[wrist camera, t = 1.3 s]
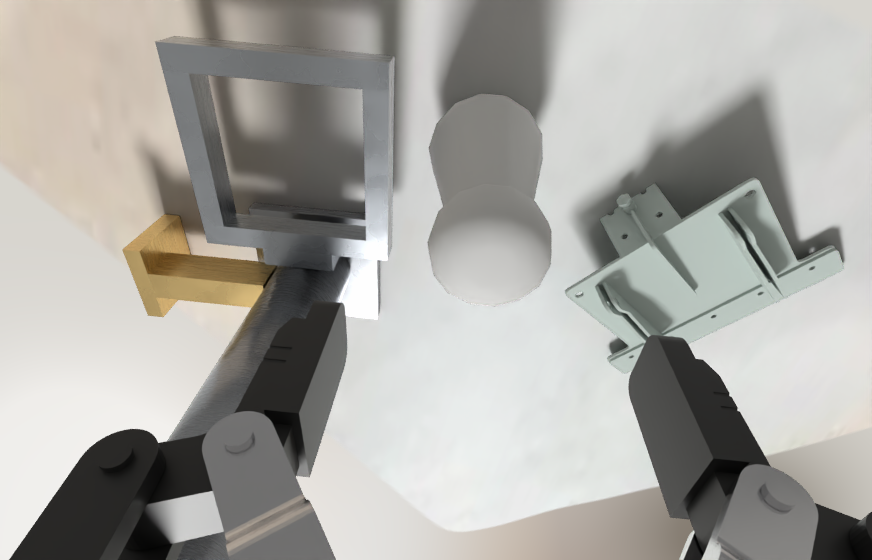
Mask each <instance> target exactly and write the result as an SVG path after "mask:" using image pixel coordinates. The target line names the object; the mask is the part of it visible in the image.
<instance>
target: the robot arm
mask: <svg viewBox="0 0 872 560" xmlns="http://www.w3.org/2000/svg"><path fill="white" fill-rule="evenodd" d="M346 355H347V334H346V317H345V306H344V303H340V302H330V301H320V300H315V301H314V302H313V304H312V306H311V308H310V310H309V312H308V315H307V317H306V319H303V318H294V317H293V318H291V319H290V320H289V321H288V322H287V323H285V324H284V325H283V326H282V327H281V328H280V329H278V331H277V332H276V334H275V336H274V338H273V340H272V342H271V344H270V348H268V350H267V352H266V354H265V356H264V357H263V361H261V363H260V365H259V367H258V369H257V371H256V373H255V375H254V377H253V379H252V381H251V383H250V384H249V386H248V388H247V390H246V392H245V394H244V396H243V398H242V400H241V402H240V404H239V406H238V408H237V409H236V411H235V412H234V414H231V415H229V416H226V417H224V418H223V419H221V420H220V421H218V422H217V423H216V424H214V425H213V426H212V428H211V429H210V430H209V431H208V433H205V434H202V435H199V436H195V437H189V438H184V439H178V440H173V441H167V442H162V443H158V442H157V440H156V438H155V437H154V436H153V435H152V434H151V433H149V432H148V431H145V430H140V429H129V430H123V431H119V432H116V433H113V434H111V435H109V436H107V437H105V438H103V439H101V440H100V441H98V442H96V443H95V444H94V445H93V446H91V447H90V448H89V449H88V450H87V451H86V452H85V453H84V455H83V456H82V457H81V458H80V460H79V461H78V463H77V464H76V466H75V467H74V468H73V470H72V471H71V473H70V474H69V475H68V477H67V478H66V480H65V481H64V483H63V484H62V486H61V487H60V488H59V490H58V491H57V493H56V494H55V495H54V497H53V498H52V500H51V501H50V502H49V504H48V506H47V507H46V508H45V510H44V511H43V512H42V514H41V515H40V517H39V518H38V520H37V521H36V522H35V524H34V525H33V527H32V528H31V530H30V531H29V532H28V534H27V535H26V537H25V538H24V540H23V541H22V542H21V544H20V545H19V547H18V548H17V550H16V551H15V552H14V554H13V555H12V557H11V558H10V559H9V560H177V559H178V556H179V554H180V552H181V549H182V547H183V545H184V542H185V541H186V540H190V539H195V538H199V537H203V536H208V535H212V534H216V533H221V532H224V533H225V537H226V548H227V553H228V557H229V560H336V559H335V556H334V554H333V552H332V549H331V547H330V545H329V543H328V540H327V538H326V536H325V533H324V531H323V529H322V527H321V524H320V522H319V520H318V518H317V515H316V513H315V511H314V509H313V507H312V505H311V503H310V501H309V500H306V499H305V497H304V495H303V493H302V491H301V488H300V486H299V484H298V482H297V479H296V476H303V477H310V474H311V471H312V467H313V465H314V462H315V458H316V455H317V452H318V449H319V446H320V443H321V439H322V436H323V433H324V430H325V427H326V424H327V420H328V417H329V414H330V411H331V408H332V405H333V401H334V398H335V395H336V392H337V389H338V386H339V382H340V379H341V376H342V373H343V370H344V366H345V362H346ZM629 396H630V400H631V403H632V405H633V408H634V411H635V414H636V417H637V420H638V423H639V426H640V429H641V432H642V435H643V438H644V441H645V444H646V447H647V450H648V453H649V456H650V459H651V462H652V465H653V468H654V471H655V474H656V477H657V480H658V483H659V485H660V488H661V491H662V494H663V497H664V500H665V503H666V506H667V509H668V512H669V515H670V517H672V518H681V519H690V521H691V524H692V527H693V529H694V530H693V531H692V533H691V534H690V535H689V537H688V539H687V542H686V544H685V547H684V549H683V551H682V554H681V556H680V559H679V560H872V512H871V513H869V514H868V515H867V516H866V517H864V518H863V519H862V520H858V519H856V518H853V517H850V516H848V515H845V514H842V513H839V512H837V511H834V510H832V509H829V508H826V507H824V506H821V505H818V504H816V503H814V501H813V499H812V498H811V496H810V495H809V494H808V492H807V491H806V490H805V489H804V488H803V487H802V486H801V485H800V484H799V483H798V482H797V481H796V480H794V479H793V478H792V477H790V476H789V475H787V474H785V473H784V472H782V471H779V470H778V469H775V468H772V467H771V466H770V465H769V463H768V461H767V459H766V457H765V456H764V454H763V452H762V450H761V449H760V447H759V445H758V443H757V441H756V440H755V438H754V436H753V434H752V433H751V431H750V429H749V427H748V425H747V424H746V422H745V420H744V418H743V417H742V415H741V413H740V412H739V411H737V406H736V404H735V402H734V401H733V399H732V397H729V392H728V390H727V388H726V386H725V385H724V383H723V381H722V379H721V377H720V376H719V375H718V374H717V373H716V372H715V371H714V370H713V369H712V368H711V367H710V366H709V365H708V364H707V363H706V362H705V361H704V360H700V359H695V357H694V355H693V353H692V351H691V349H690V347H689V346H688V344H687V342H686V341H685V339H683V338H680V337H670V336H660V335H651V336H649V337H648V339H647V340H646V342H645V344H644V347H643V349H642V351H641V353H640V355H639V357H638V360H637V362H636V364H635V366H634V368H633V370H632V373H631V375H630V379H629Z"/></svg>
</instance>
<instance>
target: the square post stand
mask: <svg viewBox="0 0 872 560" xmlns="http://www.w3.org/2000/svg"><path fill="white" fill-rule="evenodd" d="M155 43H156V47H157V50H158V54H159V58H160V62H161V66H162V70H163V73H164V77H165V81H166V85H167V89H168V93H169V97H170V100H171V104H172V108H173V112H174V116H175V120H176V123H177V127H178V131H179V135H180V139H181V143H182V147H183V150H184V154H185V158H186V162H187V166H188V170H189V173H190V177H191V181H192V185H193V189H194V193H195V197H196V200H197V204H198V208H199V212H200V216H201V220H202V223H203V227H204V231H205V235H206V239H207V243H214V244H223V245H233V246H243V247H253V248H256V250H257V255H258V260H259V262H258V261H248V260H238V259H228V258H218V257H208V256H199V255H191V254H190V251H189V247H188V244H187V240H186V237H185V233H184V230H183V226H182V223H181V220H180V216H177V215H167V214H164V215H163V216H162V217H161V218H159V219H158V220H157V221H156V222H155V223H153V224H152V225H151V226H150V227H149V228H148V229H146V230H145V231H144V232H143V233H142V234H140V235H139V236H138V237H137V238H136V239H134V240H133V241H132V242H131V243H130V244H129V245H127V246H126V247H125V248H124V249H123V253H124V255H125V258H126V260H127V263H128V265H129V268H130V270H131V273H132V275H133V278H134V281H135V283H136V286H137V288H138V291H139V294H140V296H141V298H142V301H143V304H144V306H145V309H146V311H147V314H148V315H149V316H158V317H164V316H165V315H166V313H167V312H168V311H169V310H170V309H171V308H172V306H173V305H174V304H175V303H176V302H177V301H178V300H185V301H194V302H204V303H214V304H223V305H233V306H243V307H252V308H251V310H250V312H249V313H248V315H247V316H246V318H245V319H244V321H243V323H242V324H241V326H240V327H239V329H238V330H237V332H236V334H235V335H234V337H233V338H232V340H231V342H230V343H229V345H228V346H227V348H226V349H225V351H224V353H223V354H222V356H221V357H220V359H219V361H218V362H217V364H216V365H215V367H214V368H213V370H212V372H211V373H210V375H209V376H208V378H207V379H206V381H205V383H204V384H203V386H202V387H201V389H200V391H199V392H198V394H197V395H196V397H195V398H194V400H193V402H192V403H191V405H190V406H189V408H188V409H187V411H186V413H185V414H184V416H183V417H182V419H181V420H180V422H179V424H178V425H177V427H176V428H175V430H174V432H173V433H172V435H171V436H170V438H169V439H168V441H173V440H178V439H184V438H189V437H195V436H199V435H202V434H205V433H208V431H209V430H210V429H211V428H212V426H213V425H214V424H216V423H217V422H218V421H220V420H221V419H223V418H224V417H226V416H229V415H231V414H234V412H235V411H236V409H237V408H238V406H239V404H240V402H241V400H242V398H243V396H244V394H245V392H246V390H247V388H248V386H249V384H250V383H251V381H252V379H253V377H254V375H255V373H256V371H257V369H258V367H259V365H260V363H261V361H263V357H264V356H265V354H266V352H267V350H268V348H270V344H271V342H272V340H273V338H274V336H275V334H276V332H277V331H278V329H280V328H281V327H282V326H283V325H284V324H285V323H287V322H288V321H289V320H290V319H291V318H293V317H294V318H303V319H306V317H307V315H308V312H309V310H310V308H311V306H312V304H313V302H314V301H315V300H320V301H330V302H340V303H344V306H345V316H350V317H360V318H369V319H378V316H379V260H382V261H388V258H389V254H390V251H391V248H392V203H393V133H394V64H395V56H390V55H379V54H368V53H356V52H345V51H334V50H323V49H312V48H301V47H290V46H279V45H268V44H257V43H246V42H235V41H224V40H213V39H202V38H191V37H180V36H173V37H170V38H166V39H163V40H159V41H156V42H155ZM208 75H213V76H224V77H235V78H246V79H257V80H268V81H278V82H289V83H300V84H311V85H322V86H333V87H343V88H354V89H363V129H364V171H365V213H366V214H364V213H353V212H343V211H333V210H323V209H313V208H303V207H292V206H282V205H272V204H262V203H253V204H252V205H251V206H250V208H249V213H250V215H248V214H238V213H236V210H235V205H234V200H233V196H232V191H231V186H230V181H229V176H228V171H227V167H226V162H225V157H224V152H223V147H222V143H221V138H220V133H219V128H218V123H217V119H216V114H215V109H214V104H213V99H212V95H211V90H210V85H209V80H208ZM177 560H229V557H228V553H227V548H226V537H225V533H224V532H221V533H216V534H212V535H208V536H203V537H199V538H195V539H190V540H186V541H185V542H184V545H183V547H182V549H181V552H180V554H179V556H178V559H177Z"/></svg>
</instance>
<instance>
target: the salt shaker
mask: <svg viewBox="0 0 872 560" xmlns="http://www.w3.org/2000/svg"><path fill="white" fill-rule="evenodd" d="M429 152H430V157H431V163H432V168H433V173H434V176H435V179H436V183H437V186H438V189H439V193H440V196H441V200H442V204H443V208H442V209H441V210H440V211H439V212H438V214H437V217H436V220H435V223H434V225H433V228H432V231H431V234H430V237H429V240H428V248H429V255H430V260H431V264H432V269H433V274H434V276H435V277H436V279H437V280H438V281H439V282H440V284H441V285H442V286H443V287H444V289H445V290H446V291H447V293H449V294H451V295H453V296H455V297H457V298H459V299H461V300H463V301H465V302H467V303H469V304H476V305H485V306H494V307H495V306H499V305H503V304H507V303H510V302H514V301H518V300H520V299H522V298H523V297H524V296H526V295H527V294H529V293H530V292H532V291H533V290H534V289H536V288H537V287H539V286H540V284H541V282H542V280H543V278H544V276H545V275H546V273H547V271H548V269H549V267H550V264H551V229H550V226H549V223H548V221H547V220H546V218H545V216H544V215H543V213H542V212H541V210H540V208H539V207H538V205H537V204H536V202H535V201H534V198H535V193H536V188H537V183H538V178H539V174H540V169H541V164H542V159H543V157H542V133H541V131H540V129H539V128H538V126H537V124H536V122H535V120H534V119H533V117H532V115H531V113H530V112H529V111H528V110H527V109H526V108H524V107H523V106H521V105H520V104H518V103H517V102H515V101H514V100H512V99H511V98H509V97H508V96H504V95H493V94H478V95H475V96H472V97H470V98H467V99H464V100H462V101H459V102H456V103H455V104H454V105H453V106H452V107H451V109H450V110H449V111H448V112H447V113H446V114H445V115H444V116H443V117H442V119H441V120H440V121H439V122H438V123H437V124H436V127H435V130H434V134H433V137H432V140H431V143H430V146H429Z"/></svg>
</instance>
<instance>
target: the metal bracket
mask: <svg viewBox="0 0 872 560" xmlns="http://www.w3.org/2000/svg"><path fill="white" fill-rule="evenodd" d="M646 190H647V191H646V193H645V194H641V193H638V194H637V195H635V196H634V197H632V198H631V197H630V196H629V195H628V193H627V194H623V195H620V196H619V198H618V199H617V201H616V202H617V203H618V205H619V207H617V208H616V209H614V210H613V211H614V213H613V214H612V215H609V214H607V215H605V216H604V217H602V218H601V219H600V221H601V223H602V225H603V226H604V228H605V230H606V232H607V234H608V236H609V237H610V239H611V241H612V243H613V245H614V247H615V248H616V250H617V252H618V254H619V256H620V257H619V258H617V259H615V260H614V261H612V262H610V263H609V264H607V265H605V266H604V267H602V268H600V269H599V270H597V271H595V272H594V273H592V274H590V275H589V276H587V277H585V278H584V279H582V280H581V281H579V282H577V283H576V284H574V285H572V286H571V287H569V288H567V289H566V291H565V293H566V296H567V297H569V298H570V299H571V300H572V301H574V302H575V303H576V304H577V305H579V306H580V307H581V308H582V309H584V310H585V311H586V312H587V313H589V314H590V315H591V316H592V317H594V318H595V319H596V320H597V321H599V322H600V323H601V324H602V325H604V326H605V327H606V328H607V329H609V330H610V331H611V332H612V333H614V334H615V335H616V336H617V337H619V338H620V339H621V340H622V341H624V342H625V343H626V344H627V345H628V346H627V347H626V348H624V349H622V350H620V351H618V352H616V353H614V354H612V355H610V356H609V357H608V358H607V359H608V361H609V363H610V364H611V365H612V366H614V367H615V368H616V369H618V370H619V371H621V372H622V373H628V372H630V371H632V370H633V368H634V366H635V364H636V362H637V360H638V357H639V355H640V353H641V351H642V349H643V347H644V344H645V342H646V340H647V339H648V337H649V336H651V335H660V336H670V337H680V338H683V339H685V341H686V342H687V344H689V343H691V342H694V341H696V340H698V339H700V338H702V337H704V336H706V335H708V334H710V333H713V332H715V331H717V330H719V329H721V328H723V327H725V326H727V325H729V324H731V323H734V322H736V321H738V320H740V319H742V318H744V317H746V316H748V315H750V314H753V313H755V312H757V311H759V310H761V309H763V308H765V307H767V306H769V305H771V304H774V303H777V302H779V301H780V300H782V299H786V298H788V296H790V295H793V294H795V293H797V292H799V291H801V290H803V289H805V288H807V287H809V286H812V285H814V284H816V283H818V282H820V281H822V280H824V279H827V278H829V277H831V276H833V275H835V274H837V273H839V272H841V271H842V270H843V269H844V266H843V263H842V260H841V257H840V254H839V251H838V250H837V249H836V248H835V247H834V246H833V245H830V246H827V247H825V248H823V249H821V250H819V251H817V252H815V253H813V254H811V255H809V256H807V257H805V258H803V259H800V260H797V259H796V257H795V255H794V253H793V251H792V249H791V247H790V245H789V242H788V240H787V238H786V236H785V234H784V232H783V230H782V228H781V226H780V223H779V221H778V219H777V217H776V215H775V213H774V211H773V209H772V207H771V204H770V202H769V200H768V198H767V196H766V194H765V192H764V190H763V188H762V185H761V183H760V181H759V180H758V179H757V178H750V179H748V180H746V181H744V182H743V183H741V184H739V185H738V186H736V187H734V188H733V189H731V190H729V191H728V192H726V193H725V194H723V195H721V196H720V197H718V198H716V199H715V200H713V201H711V202H710V203H708V204H706V205H705V206H703V207H701V208H700V209H698V210H696V211H695V212H693V213H691V214H690V215H688V216H686V217H685V218H683V219H681V218H680V217H679V215H678V214H677V212H676V211H675V210H674V208H673V207H672V206H671V204H670V203H669V201H668V200H667V199H666V197H665V196H664V195H663V193H662V192H661V190H660V189H659V188H658V186H657V185H656V184H655V183H654V184H652V185H651V186H649V187H648V188H646ZM751 190H754V191H753V193H752V194H751V195H749V196H745V195H746V193H748V192H749V191H751ZM661 213H662V214H663V215H662V216H661V217H659V218H657V216H658V215H659V214H661ZM625 235H628V237H627V238H626V239H623V237H624V236H625ZM579 292H583V293H582V294H581V295H577V296H576V294H577V293H579Z"/></svg>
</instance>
